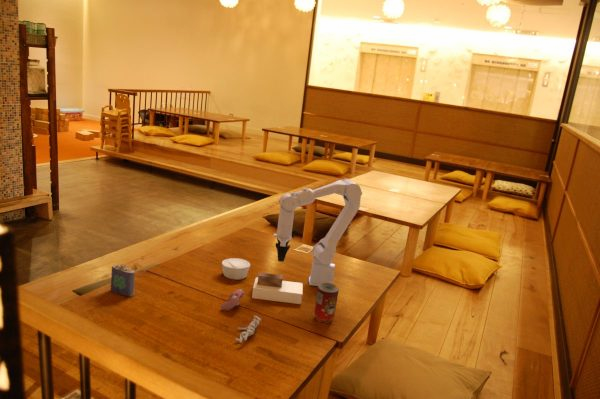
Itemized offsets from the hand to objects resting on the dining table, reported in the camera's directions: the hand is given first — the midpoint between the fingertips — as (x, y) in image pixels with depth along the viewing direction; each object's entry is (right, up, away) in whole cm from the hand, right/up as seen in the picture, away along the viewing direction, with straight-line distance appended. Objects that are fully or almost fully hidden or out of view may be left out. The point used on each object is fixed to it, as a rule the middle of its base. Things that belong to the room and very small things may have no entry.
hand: (281, 257), depth 187 cm
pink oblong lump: (-16, -14, -23) cm, 31 cm away
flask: (-54, -9, -24) cm, 60 cm away
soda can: (+16, -18, -23) cm, 33 cm away
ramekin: (-19, -8, +4) cm, 21 cm away
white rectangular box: (-1, -13, -10) cm, 16 cm away
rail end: (-4, -11, -10) cm, 16 cm away
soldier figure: (-9, -19, -40) cm, 45 cm away
